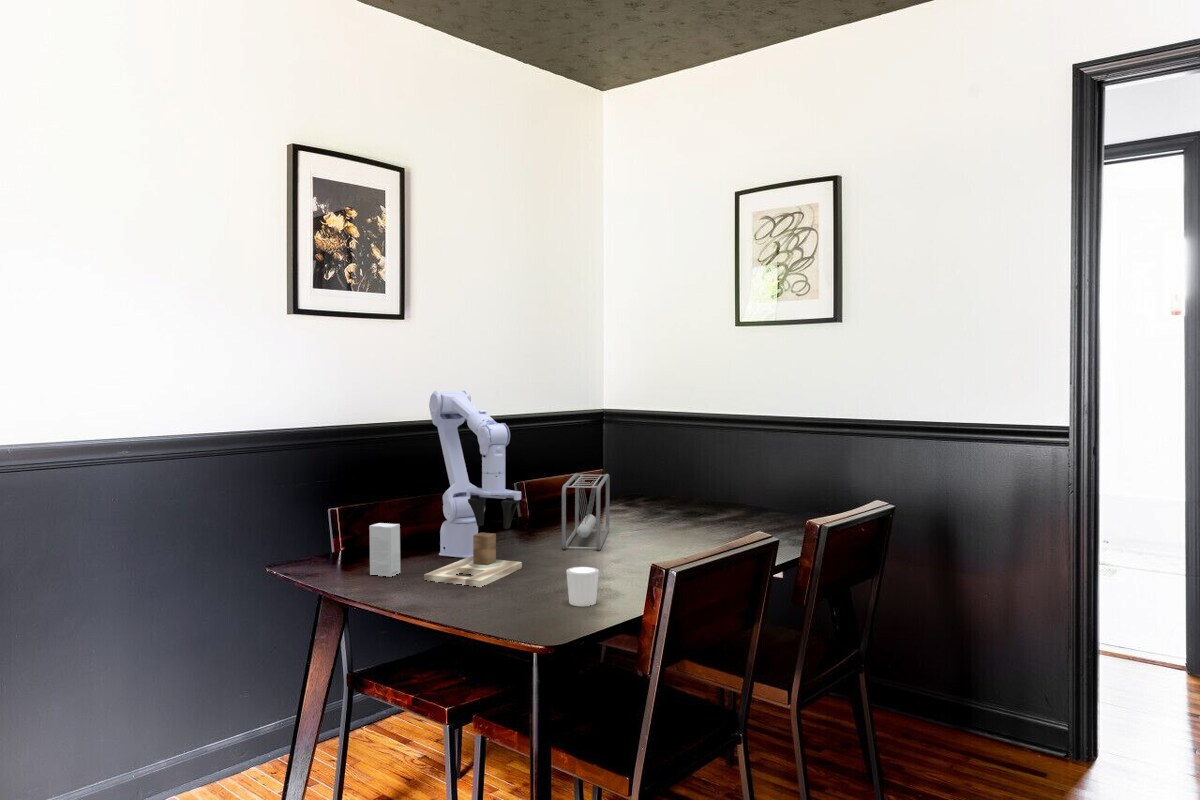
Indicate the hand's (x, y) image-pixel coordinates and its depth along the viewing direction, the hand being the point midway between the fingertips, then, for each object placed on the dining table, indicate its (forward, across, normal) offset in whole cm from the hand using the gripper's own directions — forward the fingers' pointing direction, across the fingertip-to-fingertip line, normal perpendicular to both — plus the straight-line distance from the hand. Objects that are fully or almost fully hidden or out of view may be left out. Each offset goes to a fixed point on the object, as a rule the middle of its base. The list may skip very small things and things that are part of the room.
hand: (493, 527), depth 211 cm
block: (+8, 0, -4) cm, 9 cm away
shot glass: (+10, +34, -21) cm, 41 cm away
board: (+10, 0, -9) cm, 13 cm away
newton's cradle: (+10, +8, +39) cm, 41 cm away
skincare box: (+10, -19, -18) cm, 28 cm away
